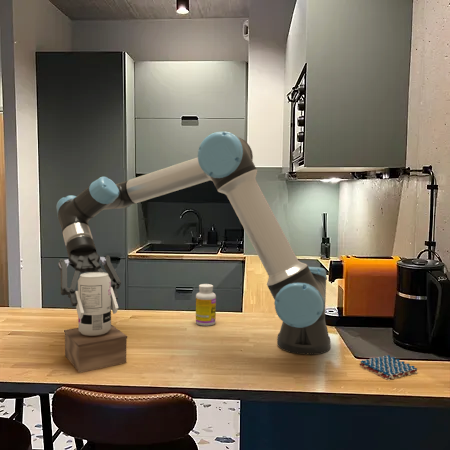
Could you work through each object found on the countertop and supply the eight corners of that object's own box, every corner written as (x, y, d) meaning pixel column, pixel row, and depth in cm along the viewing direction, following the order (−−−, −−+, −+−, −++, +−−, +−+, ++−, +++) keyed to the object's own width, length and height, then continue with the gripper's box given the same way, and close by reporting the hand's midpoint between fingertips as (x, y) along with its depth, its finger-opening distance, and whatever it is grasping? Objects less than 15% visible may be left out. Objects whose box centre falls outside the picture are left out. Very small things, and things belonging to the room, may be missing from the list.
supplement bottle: (213, 327, 149) (213, 288, 148) (193, 325, 150) (193, 287, 149) (217, 321, 156) (217, 283, 154) (198, 319, 157) (198, 282, 156)
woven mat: (356, 367, 118) (357, 359, 118) (387, 361, 123) (387, 353, 123) (387, 383, 109) (387, 374, 109) (419, 375, 114) (419, 367, 114)
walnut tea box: (127, 362, 118) (127, 336, 118) (78, 373, 111) (78, 344, 111) (109, 347, 129) (109, 322, 129) (64, 355, 122) (63, 330, 122)
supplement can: (72, 331, 120) (71, 274, 118) (100, 324, 126) (99, 270, 124) (89, 338, 114) (88, 279, 113) (117, 331, 120) (117, 274, 119)
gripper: (112, 249, 137) (134, 315, 125) (38, 254, 125) (53, 327, 113) (119, 232, 132) (141, 299, 120) (42, 236, 120) (58, 311, 108)
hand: (99, 313), depth 116 cm, fingers closed on supplement can, 8 cm apart
